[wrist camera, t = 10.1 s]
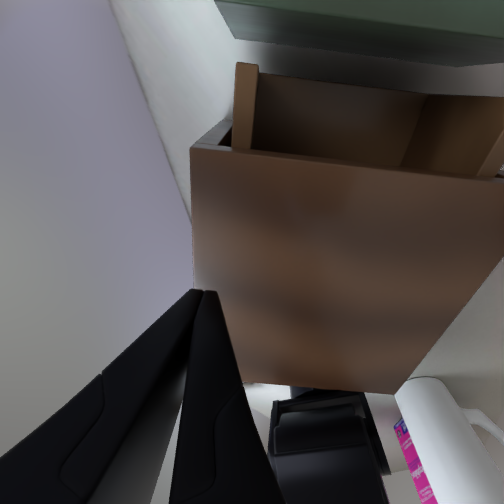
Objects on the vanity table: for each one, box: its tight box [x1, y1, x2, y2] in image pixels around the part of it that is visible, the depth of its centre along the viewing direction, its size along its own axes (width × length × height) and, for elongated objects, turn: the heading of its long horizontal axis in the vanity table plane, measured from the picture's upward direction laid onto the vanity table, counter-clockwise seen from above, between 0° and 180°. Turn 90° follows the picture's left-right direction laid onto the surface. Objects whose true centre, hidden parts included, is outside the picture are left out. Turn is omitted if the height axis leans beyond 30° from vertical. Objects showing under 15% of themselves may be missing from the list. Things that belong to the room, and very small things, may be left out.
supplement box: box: [394, 418, 438, 504], centre depth 33 cm, size 6×6×12 cm
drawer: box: [214, 0, 504, 178], centre depth 12 cm, size 19×13×8 cm, turn 174°
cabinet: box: [190, 119, 504, 395], centre depth 17 cm, size 15×14×9 cm
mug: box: [394, 377, 504, 504], centre depth 28 cm, size 10×7×12 cm, turn 101°
